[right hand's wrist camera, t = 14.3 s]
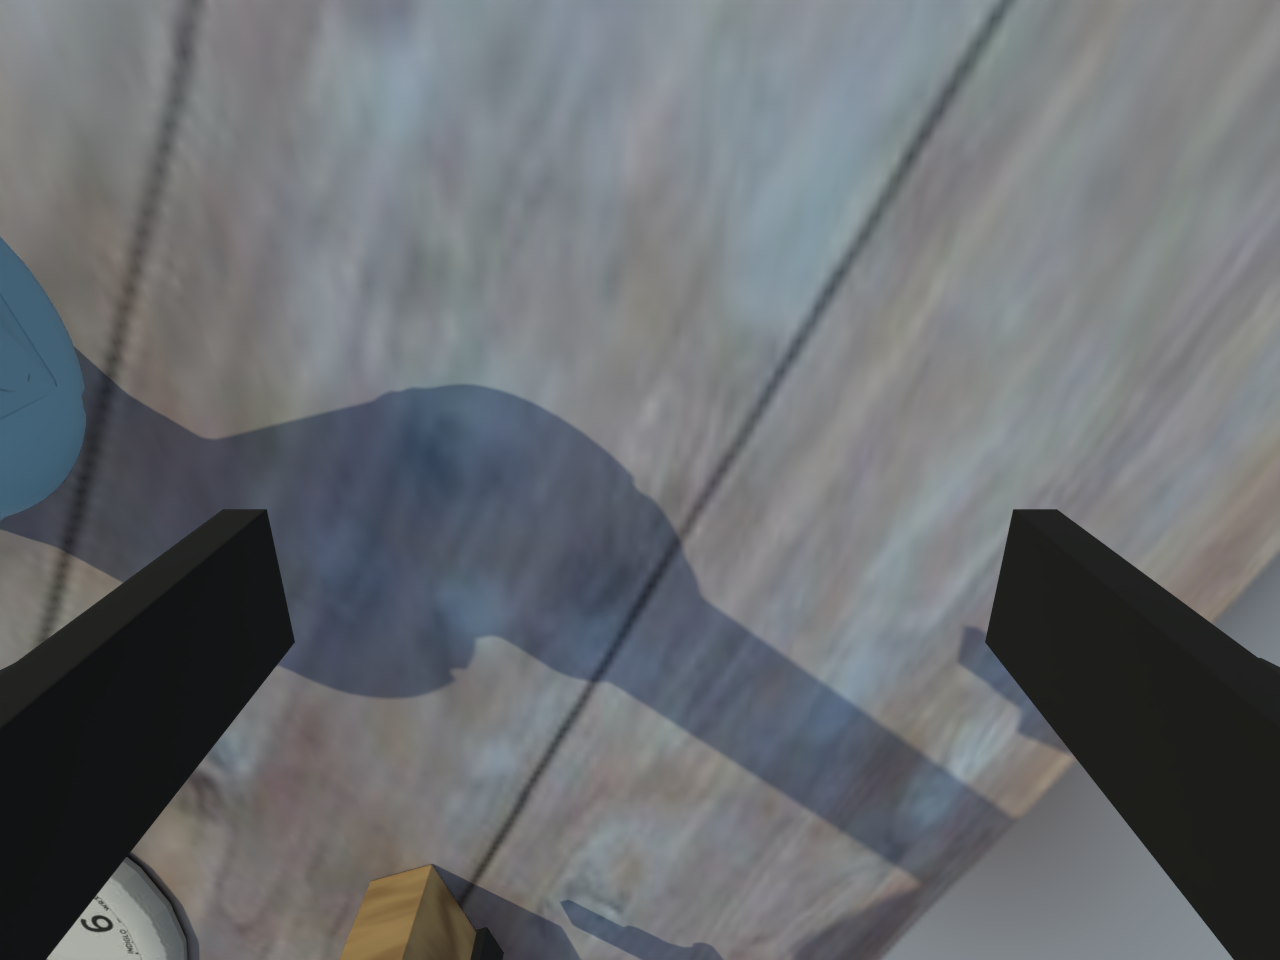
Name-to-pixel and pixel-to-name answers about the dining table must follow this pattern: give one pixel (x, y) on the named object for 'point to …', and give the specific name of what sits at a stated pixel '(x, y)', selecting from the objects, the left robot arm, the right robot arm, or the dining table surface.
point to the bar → (410, 921)
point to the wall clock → (125, 923)
